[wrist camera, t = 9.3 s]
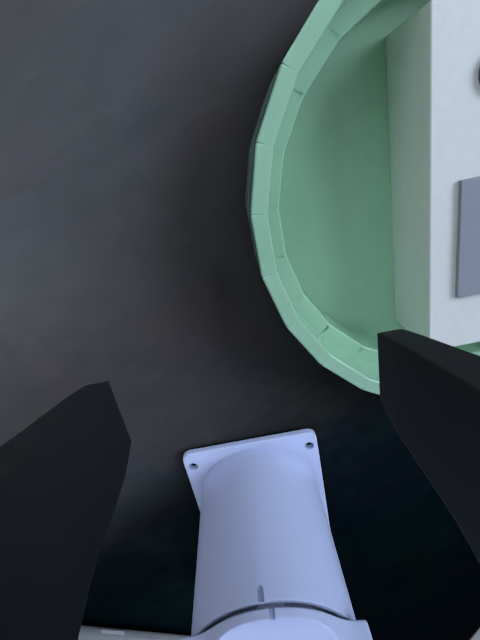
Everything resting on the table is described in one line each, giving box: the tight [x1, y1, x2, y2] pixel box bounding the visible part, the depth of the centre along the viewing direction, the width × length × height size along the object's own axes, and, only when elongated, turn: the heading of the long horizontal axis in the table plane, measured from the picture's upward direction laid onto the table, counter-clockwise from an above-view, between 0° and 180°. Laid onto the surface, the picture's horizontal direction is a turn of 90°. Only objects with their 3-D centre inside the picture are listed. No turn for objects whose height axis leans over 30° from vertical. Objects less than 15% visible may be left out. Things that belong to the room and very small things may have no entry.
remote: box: [386, 0, 480, 347], centre depth 15 cm, size 12×4×4 cm, turn 11°
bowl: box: [245, 0, 480, 395], centre depth 15 cm, size 17×17×4 cm
